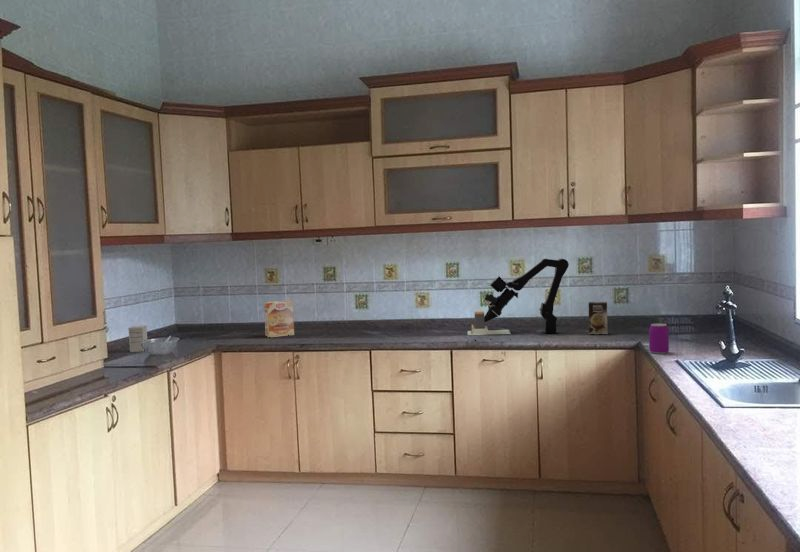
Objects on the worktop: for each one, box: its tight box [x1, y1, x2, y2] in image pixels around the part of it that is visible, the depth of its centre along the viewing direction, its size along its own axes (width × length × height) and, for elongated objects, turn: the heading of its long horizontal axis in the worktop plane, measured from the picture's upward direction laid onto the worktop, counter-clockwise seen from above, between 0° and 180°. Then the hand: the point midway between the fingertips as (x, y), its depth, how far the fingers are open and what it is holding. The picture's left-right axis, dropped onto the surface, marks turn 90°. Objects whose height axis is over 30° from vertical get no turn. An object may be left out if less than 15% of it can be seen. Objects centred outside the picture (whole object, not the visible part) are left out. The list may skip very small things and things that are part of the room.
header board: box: [467, 324, 511, 336], centre depth 362 cm, size 22×14×5 cm, turn 85°
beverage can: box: [648, 323, 670, 355], centre depth 293 cm, size 8×8×12 cm
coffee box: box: [588, 301, 608, 335], centre depth 349 cm, size 9×6×16 cm
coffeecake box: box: [263, 299, 295, 338], centre depth 390 cm, size 15×7×20 cm, turn 118°
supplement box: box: [127, 324, 148, 353], centre depth 357 cm, size 7×7×13 cm
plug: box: [473, 310, 486, 329], centre depth 362 cm, size 5×4×11 cm
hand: (484, 320), depth 362 cm, fingers open, 9 cm apart
